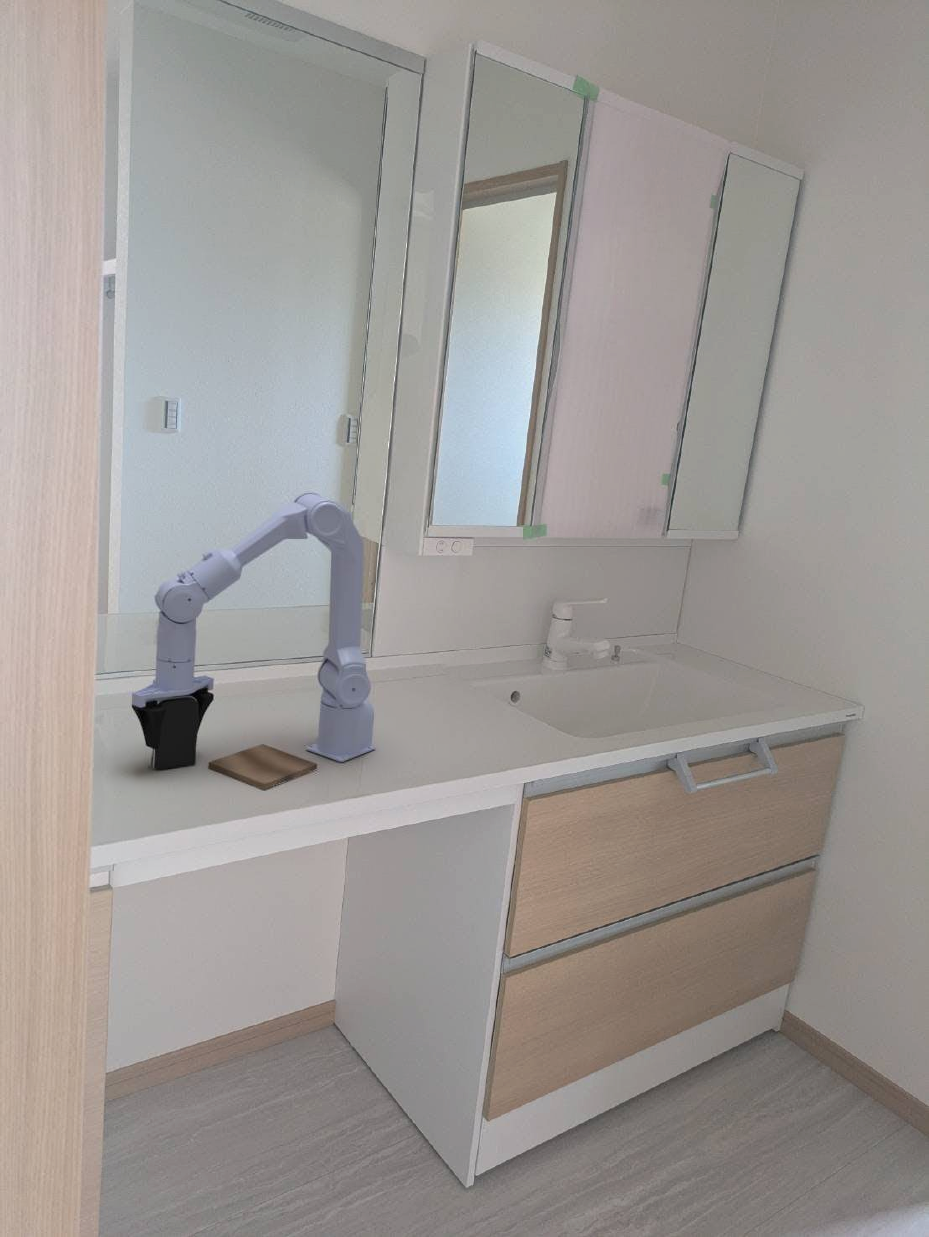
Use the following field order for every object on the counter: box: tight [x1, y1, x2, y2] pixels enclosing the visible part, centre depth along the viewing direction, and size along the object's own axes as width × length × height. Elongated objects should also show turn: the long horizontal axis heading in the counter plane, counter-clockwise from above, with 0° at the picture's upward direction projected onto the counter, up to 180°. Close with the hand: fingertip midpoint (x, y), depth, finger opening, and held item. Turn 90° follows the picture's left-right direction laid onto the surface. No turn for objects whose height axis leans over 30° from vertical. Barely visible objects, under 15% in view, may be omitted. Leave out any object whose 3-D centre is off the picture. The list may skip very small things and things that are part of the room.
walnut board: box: [208, 744, 318, 790], centre depth 158 cm, size 12×12×1 cm
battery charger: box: [150, 695, 199, 771], centre depth 155 cm, size 7×4×11 cm, turn 127°
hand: (171, 741), depth 156 cm, fingers open, 7 cm apart
